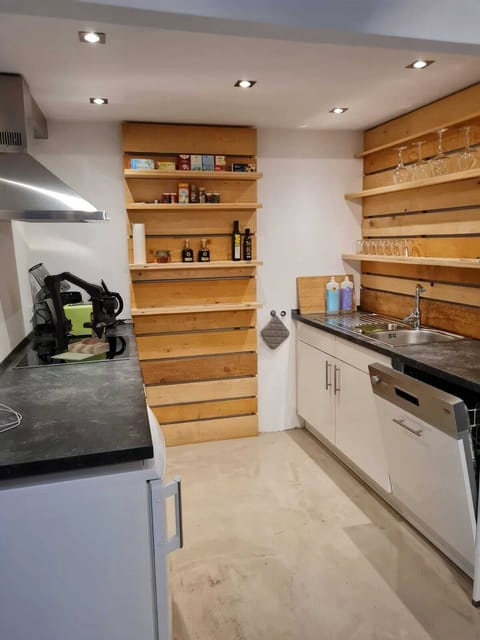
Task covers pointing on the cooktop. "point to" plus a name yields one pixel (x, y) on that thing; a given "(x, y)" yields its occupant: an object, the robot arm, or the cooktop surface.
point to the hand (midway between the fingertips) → (100, 338)
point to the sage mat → (73, 356)
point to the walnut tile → (90, 341)
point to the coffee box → (95, 333)
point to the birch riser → (88, 348)
